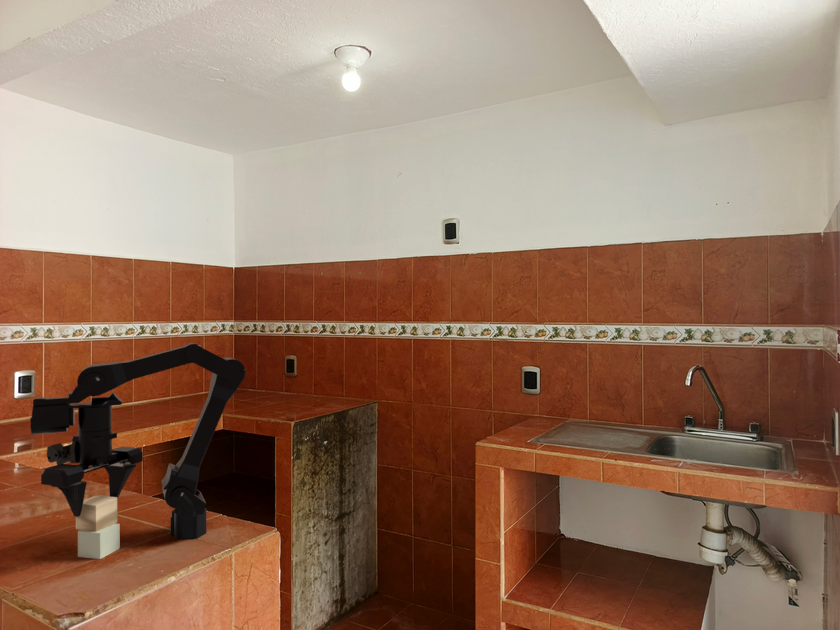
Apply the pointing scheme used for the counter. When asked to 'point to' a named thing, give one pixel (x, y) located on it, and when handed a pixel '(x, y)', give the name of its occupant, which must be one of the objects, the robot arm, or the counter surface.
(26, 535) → the counter surface
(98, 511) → the maple block
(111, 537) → the sage block
